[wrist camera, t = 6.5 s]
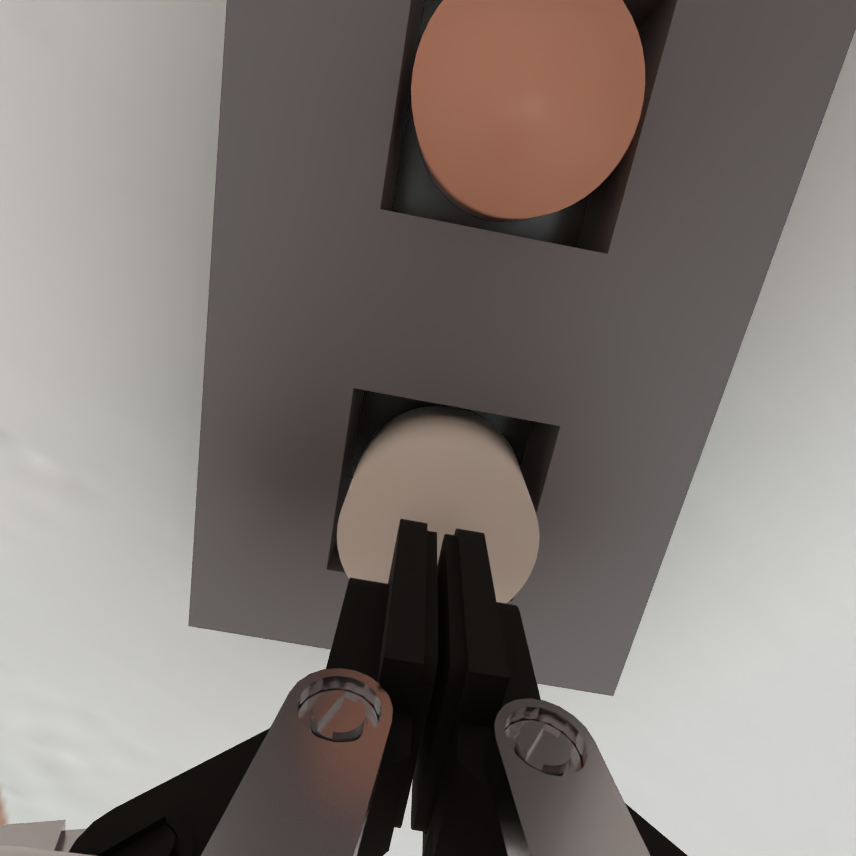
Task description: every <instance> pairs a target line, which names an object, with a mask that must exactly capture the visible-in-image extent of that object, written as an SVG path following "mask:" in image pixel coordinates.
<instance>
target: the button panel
mask: <svg viewBox="0 0 856 856" xmlns="http://www.w3.org/2000/svg"><path fill="white" fill-rule="evenodd" d="M623 2H624V3H625V5H626V7H627V9H628V10H629V12H630V14H631V16H632V18H633V20H634V23H635V25H636V28H637V30H638V33H639V37H640V41H641V44H642V48H643V55H644V62H645V92H644V101H643V106H642V110H641V115H640V119H639V122H638V125H637V128H636V131H635V134H634V136H633V138H632V140H631V142H630V144H629V147H628V149H627V150H626V152H625V154H624V155H623V157H622V159H621V160H620V162H619V163H618V165H617V166H616V167H615V169H614V170H613V171H612V172H611V174H610V175H609V176H608V177H607V178H606V179H605V180H604V181H603V182H602V183H601V184H600V185H599V186H598V187H597V188H596V189H595V190H593V191H592V192H591V195H590V199H589V203H588V207H587V211H586V214H585V218H584V222H583V226H582V230H581V234H580V238H579V242H578V246H577V248H575V247H570V246H565V245H560V244H555V243H550V242H545V241H540V240H534V239H529V238H524V237H519V236H514V235H509V234H504V233H499V232H494V231H489V230H484V229H479V228H474V227H469V226H463V225H458V224H453V223H448V222H443V221H438V220H433V219H428V218H423V217H418V216H413V215H408V214H403V213H398V212H393V211H392V207H393V200H394V194H395V187H396V181H397V175H398V168H399V162H400V155H401V149H402V142H403V136H404V129H405V123H406V116H407V110H408V103H409V97H410V91H411V84H412V74H413V67H414V62H415V58H416V52H417V45H418V39H419V32H420V26H421V19H422V13H423V6H424V0H227V7H226V23H225V39H224V56H223V72H222V88H221V104H220V121H219V137H218V153H217V170H216V186H215V202H214V219H213V235H212V251H211V268H210V284H209V300H208V317H207V333H206V349H205V366H204V382H203V398H202V415H201V431H200V447H199V464H198V480H197V496H196V512H195V529H194V545H193V561H192V578H191V594H190V610H189V626H192V627H198V628H204V629H210V630H216V631H222V632H228V633H234V634H240V635H247V636H253V637H259V638H265V639H271V640H277V641H283V642H289V643H295V644H301V645H307V646H313V647H319V648H325V649H331V648H332V644H333V640H334V636H335V632H336V628H337V624H338V620H339V616H340V613H341V609H342V605H343V601H344V597H345V593H346V589H347V585H348V582H349V578H348V576H347V574H346V573H345V571H344V568H343V566H342V563H341V560H340V557H339V552H338V547H337V525H338V520H339V516H340V512H341V509H342V506H343V504H344V501H345V498H346V495H347V493H348V490H349V485H350V478H351V472H352V465H353V459H354V453H355V446H356V440H357V433H358V427H359V420H360V414H361V407H362V401H363V394H364V390H366V391H372V392H377V393H383V394H388V395H394V396H399V397H404V398H410V399H415V400H421V401H426V402H432V403H437V404H442V405H448V406H453V407H459V408H464V409H470V410H475V411H481V412H486V413H491V414H497V415H502V416H508V417H513V418H519V419H524V420H529V421H532V425H531V429H530V432H529V436H528V440H527V444H526V448H525V452H524V456H523V460H522V464H521V468H520V470H521V472H522V475H523V478H524V481H525V484H526V487H527V489H528V492H529V495H530V498H531V501H532V504H533V506H534V509H535V512H536V516H537V520H538V525H539V549H538V554H537V559H536V562H535V564H534V567H533V570H532V572H531V574H530V576H529V577H528V579H527V581H526V582H525V584H524V585H523V587H522V588H521V589H520V591H519V592H518V593H517V594H516V595H515V596H514V597H513V598H512V599H511V600H510V601H508V602H507V603H506V604H512V605H516V606H518V608H519V611H520V614H521V619H522V623H523V627H524V631H525V636H526V640H527V644H528V648H529V653H530V657H531V661H532V665H533V670H534V674H535V678H536V682H537V683H538V684H544V685H550V686H556V687H562V688H568V689H574V690H580V691H586V692H592V693H598V694H604V695H610V696H613V695H614V692H615V690H616V687H617V684H618V681H619V679H620V676H621V673H622V670H623V668H624V665H625V662H626V659H627V657H628V654H629V651H630V648H631V646H632V643H633V640H634V637H635V635H636V632H637V629H638V626H639V624H640V621H641V618H642V615H643V613H644V610H645V607H646V604H647V602H648V599H649V596H650V593H651V591H652V588H653V585H654V582H655V580H656V577H657V574H658V571H659V569H660V566H661V563H662V560H663V558H664V555H665V552H666V549H667V547H668V544H669V541H670V538H671V536H672V533H673V530H674V527H675V525H676V522H677V519H678V516H679V514H680V511H681V508H682V505H683V503H684V500H685V497H686V494H687V492H688V489H689V486H690V483H691V481H692V478H693V475H694V472H695V470H696V467H697V464H698V461H699V459H700V456H701V453H702V450H703V448H704V445H705V442H706V439H707V437H708V434H709V431H710V428H711V426H712V423H713V420H714V417H715V415H716V412H717V409H718V406H719V404H720V401H721V398H722V395H723V393H724V390H725V387H726V384H727V382H728V379H729V376H730V373H731V371H732V368H733V365H734V362H735V360H736V357H737V354H738V351H739V349H740V346H741V343H742V340H743V338H744V335H745V332H746V329H747V326H748V324H749V321H750V318H751V315H752V313H753V310H754V307H755V304H756V302H757V299H758V296H759V293H760V291H761V288H762V285H763V282H764V280H765V277H766V274H767V271H768V269H769V266H770V263H771V260H772V258H773V255H774V252H775V249H776V247H777V244H778V241H779V238H780V236H781V233H782V230H783V227H784V225H785V222H786V219H787V216H788V214H789V211H790V208H791V205H792V203H793V200H794V197H795V194H796V192H797V189H798V186H799V183H800V181H801V178H802V175H803V172H804V170H805V167H806V164H807V161H808V159H809V156H810V153H811V150H812V148H813V145H814V142H815V139H816V137H817V134H818V131H819V128H820V126H821V123H822V120H823V117H824V115H825V112H826V109H827V106H828V104H829V101H830V98H831V95H832V93H833V90H834V87H835V84H836V82H837V79H838V76H839V73H840V71H841V68H842V65H843V62H844V60H845V57H846V54H847V51H848V49H849V46H850V43H851V40H852V38H853V35H854V32H855V29H856V0H623Z"/></svg>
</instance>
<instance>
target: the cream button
mask: <svg viewBox="0 0 856 856" xmlns="http://www.w3.org/2000/svg"><path fill="white" fill-rule="evenodd" d="M400 519H406V520H411V521H417V522H423V523H427V525H428V526H427V531H433V532H437V565H438V560H439V556H440V551H441V546H442V542H443V538H444V535H445V534H450V535H454V533H455V530H456V529H457V528H458V529H464V530H469V531H475V532H481V533H484V534H485V539H486V545H487V551H488V556H489V562H490V568H491V574H492V579H493V585H494V591H495V596H496V602H500V603H507V602H508V601H510V600H511V599H512V598H513V597H514V596H515V595H516V594H517V593H518V592H519V591H520V589H521V588H522V587H523V585H524V584H525V582H526V581H527V579H528V577H529V576H530V574H531V572H532V570H533V567H534V564H535V562H536V559H537V554H538V549H539V525H538V520H537V516H536V512H535V509H534V506H533V504H532V501H531V498H530V495H529V492H528V489H527V487H526V484H525V481H524V478H523V475H522V472H521V470H520V467H519V464H518V461H517V458H516V456H515V454H514V451H513V449H512V447H511V446H510V444H509V442H508V441H507V440H506V438H505V437H504V436H503V435H502V433H501V432H500V431H499V430H498V429H497V428H496V427H494V426H493V425H492V424H491V423H489V422H488V421H487V420H485V419H483V418H482V417H480V416H478V415H476V414H474V413H471V412H469V411H466V410H463V409H459V408H455V407H447V406H429V407H422V408H417V409H414V410H410V411H407V412H405V413H402V414H400V415H398V416H396V417H395V418H393V419H391V420H390V421H388V422H387V423H386V424H384V425H383V426H382V427H381V428H380V429H379V430H378V431H377V432H376V433H375V434H374V435H373V436H372V437H371V439H370V440H369V441H368V443H367V444H366V446H365V448H364V450H363V452H362V454H361V457H360V459H359V462H358V465H357V468H356V470H355V473H354V476H353V479H352V481H351V484H350V487H349V490H348V493H347V495H346V498H345V501H344V504H343V506H342V509H341V512H340V516H339V520H338V525H337V547H338V552H339V557H340V560H341V563H342V566H343V568H344V571H345V573H346V574H347V576H348V578H350V577H351V578H357V579H362V580H368V581H374V582H380V583H386V584H388V580H389V575H390V570H391V564H392V559H393V554H394V549H395V543H396V538H397V533H398V527H399V523H400Z"/></svg>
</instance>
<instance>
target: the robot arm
mask: <svg viewBox="0 0 856 856" xmlns="http://www.w3.org/2000/svg"><path fill="white" fill-rule="evenodd" d="M427 526H428V525H427V523H423V522H417V521H411V520H406V519H400V523H399V527H398V533H397V538H396V543H395V549H394V554H393V559H392V564H391V570H390V575H389V580H388V584H386V583H380V582H374V581H368V580H362V579H357V578H351V577H350V578H349V582H348V585H347V589H346V593H345V597H344V601H343V605H342V609H341V613H340V616H339V620H338V624H337V628H336V632H335V636H334V640H333V644H332V648H331V652H330V656H329V659H328V663H327V667H326V669H324V670H321V671H318V672H314V673H311V674H309V675H308V676H306V677H305V678H303V679H302V680H300V681H299V682H297V684H296V685H295V686H294V687H293V689H292V690H291V691H290V692H289V694H288V696H287V698H286V700H285V702H284V703H283V705H282V707H281V709H280V711H279V713H278V715H277V716H276V718H275V720H274V722H273V724H272V726H271V727H270V728H269V729H267V730H266V731H264V732H262V733H260V734H258V735H256V736H254V737H252V738H250V739H248V740H246V741H244V742H242V743H240V744H238V745H236V746H234V747H233V748H231V749H229V750H227V751H225V752H223V753H221V754H219V755H217V756H215V757H213V758H211V759H209V760H207V761H205V762H203V763H201V764H199V765H198V766H196V767H194V768H192V769H190V770H188V771H186V772H184V773H182V774H180V775H178V776H176V777H174V778H172V779H170V780H168V781H166V782H164V783H163V784H161V785H159V786H157V787H155V788H153V789H151V790H149V791H147V792H145V793H143V794H141V795H139V796H137V797H135V798H133V799H131V800H129V801H128V802H126V803H124V804H122V805H120V806H118V807H116V808H114V809H112V810H111V811H109V812H108V813H106V814H105V815H103V816H102V817H100V818H99V819H97V820H96V821H94V822H93V823H92V824H91V825H90V826H89V827H88V828H87V829H77V830H65V820H57V821H44V822H32V823H19V824H7V825H0V856H383V855H384V854H385V853H386V852H388V851H389V847H390V843H391V838H392V834H393V830H394V827H397V828H401V826H402V822H403V818H404V813H405V809H406V805H407V800H408V796H409V792H410V787H411V783H412V779H413V783H412V808H411V829H412V830H418V831H423V855H422V856H687V855H686V854H685V853H684V852H683V851H681V850H680V849H679V848H678V847H677V846H675V845H674V844H673V843H672V842H671V841H669V840H668V839H667V838H666V837H665V836H663V835H662V834H661V833H660V832H659V831H658V830H656V829H655V828H654V827H653V826H652V825H650V824H649V823H648V822H647V821H646V820H644V819H643V818H642V817H641V816H640V815H638V814H637V813H636V812H635V811H634V810H632V809H631V808H630V807H629V806H628V805H627V804H625V802H624V800H623V798H622V796H621V794H620V792H619V790H618V788H617V786H616V784H615V782H614V780H613V778H612V776H611V774H610V772H609V770H608V768H607V766H606V763H605V761H604V759H603V757H602V755H601V753H600V751H599V749H598V747H597V745H596V743H595V741H594V739H593V738H592V736H591V735H590V733H589V732H588V730H587V729H586V727H585V726H584V725H583V724H582V723H581V722H580V721H579V720H578V719H577V718H575V717H574V716H573V715H572V714H570V713H569V712H567V711H565V710H564V709H562V708H561V707H559V706H556V705H554V704H551V703H549V702H546V701H543V700H541V699H540V695H539V691H538V687H537V682H536V678H535V674H534V670H533V665H532V661H531V657H530V653H529V648H528V644H527V640H526V636H525V631H524V627H523V623H522V619H521V614H520V611H519V608H518V606H516V605H512V604H506V603H500V602H496V596H495V591H494V585H493V579H492V574H491V568H490V562H489V556H488V551H487V545H486V539H485V534H484V533H481V532H475V531H469V530H464V529H458V528H457V529H456V530H455V533H454V535H450V534H445V535H444V538H443V542H442V546H441V551H440V556H439V560H438V565H437V532H433V531H427Z"/></svg>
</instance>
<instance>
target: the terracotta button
mask: <svg viewBox="0 0 856 856" xmlns="http://www.w3.org/2000/svg"><path fill="white" fill-rule="evenodd" d="M644 92H645V62H644V55H643V48H642V44H641V41H640V37H639V33H638V30H637V28H636V25H635V23H634V20H633V18H632V16H631V14H630V12H629V10H628V9H627V7H626V5H625V3H624V2H623V0H443V1H442V2H441V3H440V5H439V6H438V8H437V9H436V11H435V12H434V14H433V16H432V17H431V19H430V21H429V23H428V25H427V27H426V29H425V31H424V33H423V35H422V38H421V41H420V44H419V47H418V50H417V53H416V58H415V62H414V67H413V74H412V84H411V102H412V111H413V119H414V124H415V129H416V134H417V138H418V143H419V147H420V151H421V155H422V159H423V161H424V164H425V166H426V169H427V171H428V173H429V175H430V176H431V178H432V180H433V182H434V183H435V184H436V186H437V187H438V189H439V190H440V191H441V192H442V193H443V194H444V195H445V196H446V197H447V199H448V200H450V201H451V202H452V203H453V204H455V205H456V206H457V207H459V208H460V209H462V210H464V211H465V212H467V213H469V214H471V215H474V216H476V217H478V218H482V219H486V220H490V221H498V222H513V221H519V220H525V219H529V218H534V217H538V216H543V215H546V214H550V213H553V212H557V211H559V210H562V209H564V208H566V207H568V206H571V205H573V204H574V203H576V202H578V201H579V200H581V199H583V198H584V197H586V196H587V195H588V194H590V193H591V192H592V191H593V190H595V189H596V188H597V187H598V186H599V185H600V184H601V183H602V182H603V181H604V180H605V179H606V178H607V177H608V176H609V175H610V174H611V172H612V171H613V170H614V169H615V167H616V166H617V165H618V163H619V162H620V160H621V159H622V157H623V155H624V154H625V152H626V150H627V149H628V147H629V144H630V142H631V140H632V138H633V136H634V134H635V131H636V128H637V125H638V122H639V119H640V115H641V110H642V106H643V101H644Z"/></svg>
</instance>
